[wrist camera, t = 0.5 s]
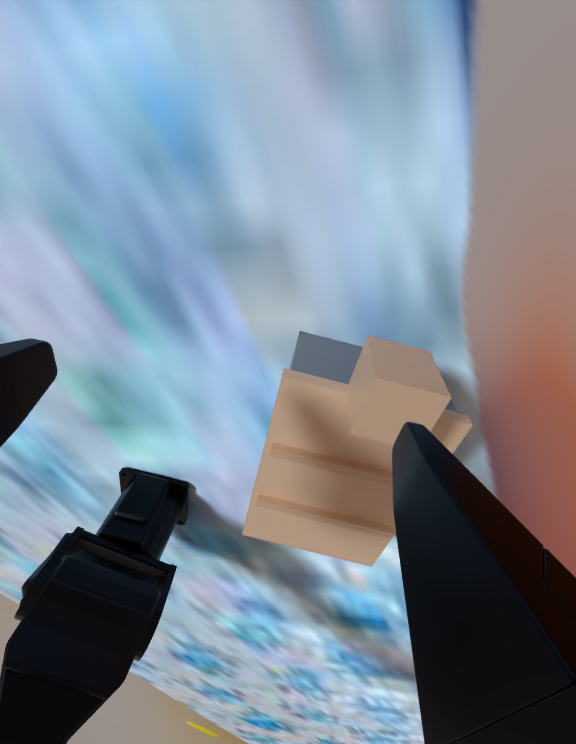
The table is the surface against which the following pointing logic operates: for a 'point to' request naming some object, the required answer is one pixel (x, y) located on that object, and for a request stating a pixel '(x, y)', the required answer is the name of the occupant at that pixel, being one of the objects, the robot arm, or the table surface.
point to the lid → (346, 451)
